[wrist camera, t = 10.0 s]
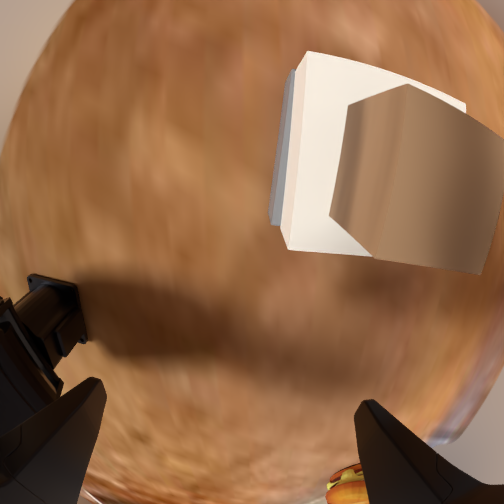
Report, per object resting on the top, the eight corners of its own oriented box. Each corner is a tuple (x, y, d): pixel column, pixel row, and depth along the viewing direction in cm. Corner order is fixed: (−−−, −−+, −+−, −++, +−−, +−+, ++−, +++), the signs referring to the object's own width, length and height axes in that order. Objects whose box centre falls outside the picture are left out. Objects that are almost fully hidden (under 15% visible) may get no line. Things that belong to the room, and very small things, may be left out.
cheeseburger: (347, 484, 37) (347, 523, 27) (313, 469, 37) (309, 512, 27) (390, 463, 34) (397, 504, 24) (359, 446, 34) (363, 493, 24)
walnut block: (328, 215, 12) (374, 258, 7) (348, 105, 10) (407, 83, 5) (417, 233, 12) (480, 275, 7) (437, 138, 10) (510, 144, 6)
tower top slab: (280, 228, 16) (288, 249, 12) (295, 71, 12) (307, 50, 9) (413, 242, 16) (442, 262, 13) (431, 108, 13) (465, 104, 9)
